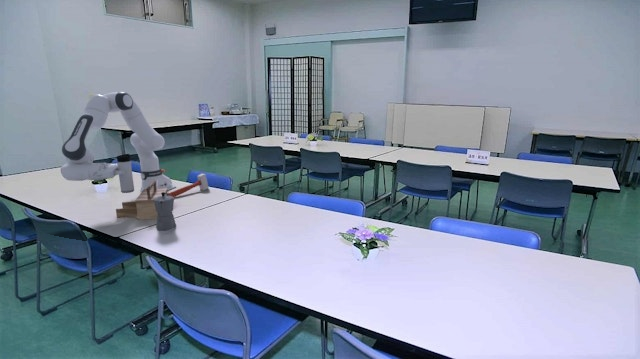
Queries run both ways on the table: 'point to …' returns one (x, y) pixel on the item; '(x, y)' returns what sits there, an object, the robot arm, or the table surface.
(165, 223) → the coffeepot
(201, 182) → the mallet
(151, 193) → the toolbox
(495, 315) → the table surface
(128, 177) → the travel mug
